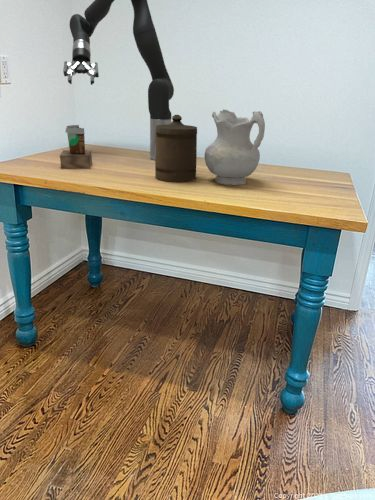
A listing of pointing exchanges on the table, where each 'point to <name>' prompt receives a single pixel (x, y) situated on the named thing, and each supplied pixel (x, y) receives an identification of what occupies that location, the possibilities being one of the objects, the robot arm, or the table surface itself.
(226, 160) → the ceramic pitcher
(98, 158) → the table surface
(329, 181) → the table surface
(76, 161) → the walnut block
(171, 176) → the wooden container
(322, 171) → the table surface
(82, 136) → the food container
